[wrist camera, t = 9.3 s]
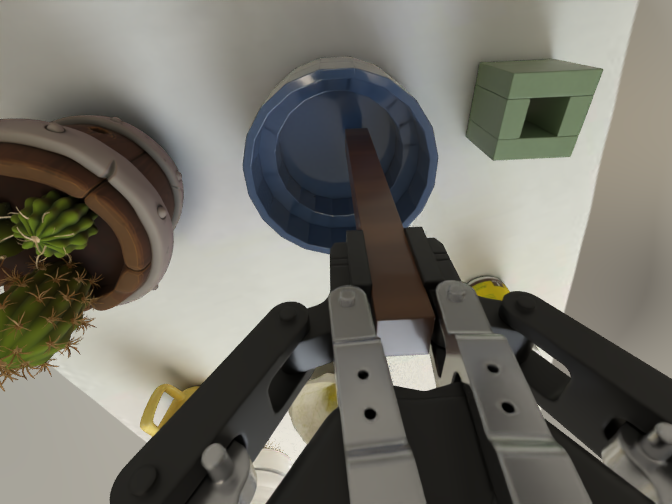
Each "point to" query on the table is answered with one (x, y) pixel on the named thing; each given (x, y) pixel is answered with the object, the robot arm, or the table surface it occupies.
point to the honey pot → (269, 473)
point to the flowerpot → (77, 228)
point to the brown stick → (387, 255)
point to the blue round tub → (334, 149)
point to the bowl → (313, 405)
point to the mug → (177, 402)
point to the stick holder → (530, 107)
